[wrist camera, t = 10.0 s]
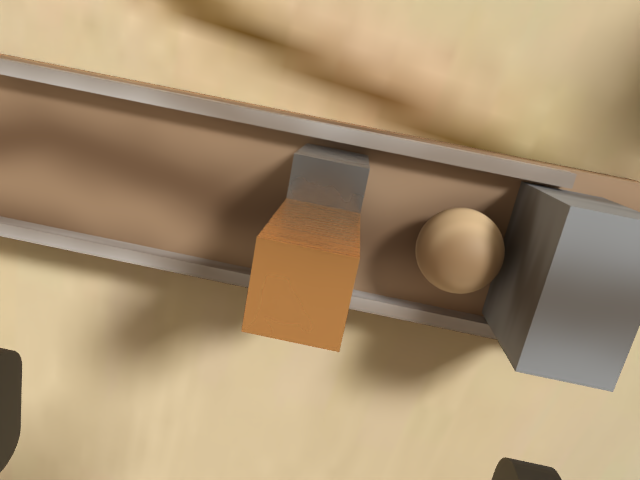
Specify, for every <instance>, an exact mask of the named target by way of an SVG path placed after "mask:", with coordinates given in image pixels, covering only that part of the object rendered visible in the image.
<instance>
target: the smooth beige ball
mask: <svg viewBox="0 0 640 480" xmlns="http://www.w3.org/2000/svg"><path fill="white" fill-rule="evenodd" d="M415 252H416V259H417V263H418V266H419V268H420V270H421V272H422V274H423V275H424V276H425V278H426V279H427V280H428V281H429V282H430V283H432V284H433V285H434V286H436V287H437V288H439V289H441V290H444V291H446V292H450V293H456V294H464V293H471V292H474V291H477V290H480V289H482V288H483V287H485V286H487V285H488V284H489V283H490V282H492V280H493V279H494V278H495V277H496V276H497V274H498V273H499V271H500V269H501V267H502V264H503V261H504V256H505V246H504V241H503V237H502V234H501V232H500V230H499V229H498V227H497V226H496V225H495V223H494V222H493V221H492V220H491V219H490V218H488V217H487V216H486V215H484V214H482V213H481V212H479V211H476V210H473V209H470V208H450V209H446V210H444V211H441V212H439V213H437V214H435V215H434V216H433V217H431V218H430V219H429V220H428V221H427V222H426V223H425V224H424V226H423V227H422V229H421V231H420V233H419V235H418V238H417V241H416V249H415Z"/></svg>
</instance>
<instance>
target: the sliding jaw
mask: <svg viewBox="0 0 640 480" xmlns="http://www.w3.org/2000/svg"><path fill="white" fill-rule="evenodd" d="M369 171H370V165H369V158H368V155H364V154H359V153H354V152H349V151H344V150H339V149H334V148H329V147H324V146H319V145H314V144H309V143H307V144H306V145H304V146H303V147H302V148H300V149H299V150H298V151H297V152H295V153H294V157H293V163H292V169H291V175H290V180H289V186H288V192H287V197H286V199H285V201H284V202H283V203H282V205H281V206H280V207H279V209H278V210H277V211H276V212H275V214H274V215H273V216H272V218H271V219H270V220H269V222H268V223H267V224H266V226H265V227H264V228H263V230H262V231H261V232H260V233H259V235H258V236H257V238H256V244H255V250H254V257H253V263H252V269H251V275H250V281H249V288H248V294H247V300H246V306H245V312H244V318H243V325H242V332H247V333H251V334H256V335H261V336H266V337H270V338H275V339H280V340H285V341H289V342H294V343H299V344H304V345H308V346H313V347H318V348H323V349H327V350H332V351H337V352H339V350H340V346H341V341H342V337H343V332H344V328H345V324H346V319H347V315H348V310H349V306H350V301H351V297H352V292H353V288H354V283H355V279H356V274H357V270H358V265H359V261H360V212H361V208H362V203H363V198H364V194H365V189H366V185H367V180H368V175H369Z"/></svg>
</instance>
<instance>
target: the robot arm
mask: <svg viewBox="0 0 640 480" xmlns="http://www.w3.org/2000/svg"><path fill="white" fill-rule="evenodd" d="M21 387H22V361H21V357H20V355H19V354H18V353H17V352H16V351H12V350H7V349H3V348H0V472H1V471H2V470H3V469H4V467H5V466H6V465H7V463H8V462H9V460H10V458H11V457H12V455H13V453H14V451H15V448H16V446H17V443H18V440H19V436H20V429H21ZM492 480H561V478H560V476H559V474H558V473H557V471H556V470H555V469H553V468H552V467H548V466H543V465H538V464H534V463H529V462H524V461H520V460H515V459H510V458H506V457H505V458H502V459H501V460H500V461H499V463H498V465H497V467H496V469H495V472H494V475H493V478H492Z"/></svg>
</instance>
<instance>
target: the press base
mask: <svg viewBox="0 0 640 480" xmlns="http://www.w3.org/2000/svg"><path fill="white" fill-rule="evenodd" d="M307 143H309V144H314V145H319V146H324V147H329V148H334V149H339V150H344V151H349V152H354V153H359V154H364V155H368V158H369V165H370V171H369V175H368V180H367V185H366V189H365V194H364V198H363V203H362V208H361V212H360V261H359V265H358V270H357V274H356V279H355V283H354V288H353V292H352V297H351V301H350V306H349V309H353V310H357V311H362V312H367V313H372V314H377V315H381V316H386V317H391V318H396V319H401V320H406V321H410V322H415V323H420V324H425V325H430V326H434V327H439V328H444V329H449V330H454V331H458V332H463V333H468V334H473V335H478V336H482V337H487V338H492V339H497V340H498V342H499V344H500V345H501V347H502V349H503V351H504V352H505V354H506V356H507V358H508V359H509V361H510V363H511V365H512V366H513V368H514V370H515V371H516V372H521V373H526V374H530V375H535V376H540V377H545V378H549V379H554V380H559V381H564V382H568V383H573V384H578V385H583V386H588V387H592V388H597V389H602V390H607V391H611V392H613V390H614V388H615V385H616V383H617V380H618V378H619V375H620V373H621V370H622V368H623V366H624V363H625V361H626V358H627V356H628V353H629V351H630V348H631V346H632V343H633V341H634V338H635V336H636V333H637V331H638V328H639V326H640V182H638V181H635V180H631V179H626V178H621V177H616V176H611V175H606V174H601V173H596V172H591V171H586V170H581V169H576V168H571V167H566V166H561V165H556V164H551V163H546V162H541V161H536V160H531V159H526V158H521V157H516V156H511V155H506V154H501V153H496V152H491V151H486V150H481V149H476V148H471V147H466V146H461V145H456V144H451V143H446V142H441V141H436V140H431V139H426V138H421V137H416V136H410V135H405V134H400V133H395V132H390V131H385V130H380V129H375V128H370V127H365V126H360V125H355V124H350V123H345V122H340V121H335V120H330V119H325V118H320V117H315V116H310V115H305V114H300V113H295V112H290V111H285V110H280V109H275V108H270V107H265V106H260V105H255V104H250V103H245V102H240V101H235V100H230V99H225V98H220V97H215V96H210V95H205V94H200V93H195V92H190V91H185V90H180V89H175V88H170V87H165V86H160V85H155V84H150V83H145V82H140V81H135V80H130V79H125V78H120V77H115V76H110V75H105V74H100V73H95V72H90V71H85V70H80V69H74V68H69V67H64V66H59V65H54V64H49V63H44V62H39V61H34V60H29V59H24V58H19V57H14V56H9V55H4V54H0V236H2V237H7V238H12V239H16V240H21V241H26V242H31V243H36V244H40V245H45V246H50V247H55V248H60V249H64V250H69V251H74V252H79V253H84V254H88V255H93V256H98V257H103V258H108V259H112V260H117V261H122V262H127V263H132V264H136V265H141V266H146V267H151V268H156V269H161V270H165V271H170V272H175V273H180V274H185V275H189V276H194V277H199V278H204V279H209V280H213V281H218V282H223V283H228V284H233V285H237V286H242V287H247V288H249V281H250V275H251V269H252V263H253V257H254V250H255V244H256V238H257V236H258V235H259V233H260V232H261V231H262V230H263V228H264V227H265V226H266V224H267V223H268V222H269V220H270V219H271V218H272V216H273V215H274V214H275V212H276V211H277V210H278V209H279V207H280V206H281V205H282V203H283V202H284V201H285V199H286V197H287V192H288V186H289V180H290V175H291V169H292V163H293V157H294V153H295V152H297V151H298V150H299V149H300V148H302V147H303V146H304V145H306V144H307ZM450 208H470V209H473V210H476V211H479V212H481V213H482V214H484V215H486V216H487V217H488V218H490V219H491V220H492V221H493V222H494V223H495V225H496V226H497V227H498V229H499V230H500V232H501V234H502V237H503V241H504V246H505V256H504V261H503V264H502V267H501V269H500V271H499V273H498V274H497V276H496V277H495V278H494V279H493V280H492V282H490V283H489V284H488V285H487V286H485V287H483V288H482V289H480V290H477V291H474V292H471V293H464V294H456V293H450V292H446V291H444V290H441V289H439V288H437V287H436V286H434V285H433V284H432V283H430V282H429V281H428V280H427V279H426V278H425V276H424V275H423V274H422V272H421V270H420V268H419V266H418V263H417V259H416V252H415V249H416V241H417V238H418V235H419V233H420V231H421V229H422V227H423V226H424V224H425V223H426V222H427V221H428V220H429V219H430V218H431V217H433V216H434V215H435V214H437V213H439V212H441V211H444V210H446V209H450Z"/></svg>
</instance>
